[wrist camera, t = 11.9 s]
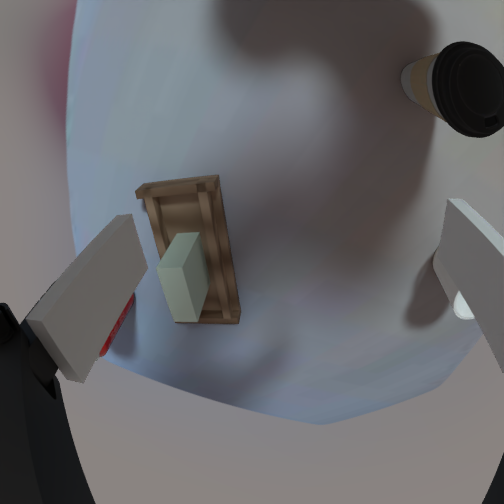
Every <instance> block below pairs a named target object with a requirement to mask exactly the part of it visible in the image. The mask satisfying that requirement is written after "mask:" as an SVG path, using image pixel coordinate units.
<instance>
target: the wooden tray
mask: <svg viewBox="0 0 504 504" xmlns="http://www.w3.org/2000/svg"><path fill="white" fill-rule="evenodd" d="M135 193H136V197H137V199H143V198H144V201H145V205H146V209H147V213H148V217H149V220H150V224H151V228H152V231H153V235H154V239H155V242H156V246H157V249H158V253H159V256H160V259H162V257H163V256H164V254H165V252H166V251H167V249H168V247H169V246H170V244H171V242H172V241H173V239H174V237H175V236H176V234H177V233H192V232H200V237H201V241H202V246H203V251H204V255H205V260H206V265H207V269H208V273H209V278H210V282H211V283H210V286H209V289H208V292H207V295H206V298H205V301H204V304H203V307H202V310H201V314H200V317H199V320H198V322H175V323H202V324H239V320H240V315H241V308H240V303H239V297H238V291H237V285H236V279H235V273H234V268H233V262H232V256H231V250H230V243H229V237H228V231H227V225H226V219H225V212H224V206H223V200H222V193H221V187H220V180H219V175H211V176H201V177H192V178H183V179H175V180H167V181H159V182H152V183H144V184H143V185H141V186H140V187H139V188H138V189H137V190H136V191H135Z"/></svg>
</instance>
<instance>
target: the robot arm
mask: <svg viewBox="0 0 504 504" xmlns="http://www.w3.org/2000/svg"><path fill="white" fill-rule="evenodd" d="M437 257H438V258H439V260H440V261H441V263H442V264H443V266H444V267H445V269H446V270H447V272H448V274H449V275H450V277H451V278H452V280H453V281H454V283H455V285H456V286H457V288H458V290H459V291H460V293H461V295H462V296H463V298H464V300H465V301H466V303H467V305H468V306H469V308H470V310H471V312H472V313H473V315H474V317H475V319H476V321H477V322H478V324H479V326H480V328H481V330H482V332H483V334H484V335H485V337H486V339H487V341H488V343H489V345H490V347H491V349H492V351H493V353H494V355H495V358H496V359H497V362H498V364H499V366H500V368H501V370H502V373H504V238H503V237H502V236H501V235H500V234H499V233H498V232H497V231H496V230H495V229H494V228H493V227H492V226H491V225H490V224H489V223H488V222H487V221H486V220H485V219H484V218H482V217H481V216H480V215H479V214H478V213H477V212H476V211H475V210H474V209H473V208H472V207H471V206H469V205H468V204H467V203H466V202H465V201H464V200H463V199H447V206H446V212H445V218H444V224H443V229H442V235H441V240H440V245H439V249H438V254H437ZM147 269H148V266H147V263H146V260H145V257H144V253H143V250H142V247H141V244H140V241H139V237H138V234H137V231H136V227H135V224H134V220H133V217H132V214H126V215H117V216H116V217H115V218H114V219H113V220H112V221H111V222H110V223H109V224H108V225H107V226H106V227H105V228H104V229H103V230H102V231H101V232H100V233H99V234H98V235H97V236H96V237H95V238H94V239H93V240H92V241H91V243H90V244H89V245H88V246H87V247H86V248H85V249H84V250H83V251H82V252H81V253H80V254H79V255H78V257H77V258H76V259H75V260H74V261H73V262H72V263H71V264H70V266H69V267H68V268H67V269H66V270H65V271H64V272H63V273H62V275H61V276H60V277H59V278H58V279H57V280H56V281H55V282H54V283H53V284H52V285H51V286H50V288H49V289H48V290H47V291H46V293H45V294H44V295H43V296H42V297H41V299H40V301H38V302H37V303H36V305H35V306H34V307H33V308H32V310H31V311H30V312H29V313H28V315H27V316H26V317H25V319H24V320H23V321H22V322H21V324H19V323H18V321H17V320H16V318H15V316H14V315H13V313H12V311H11V310H10V308H9V307H8V305H7V304H6V303H0V504H95V501H94V499H93V496H92V494H91V491H90V489H89V486H88V483H87V481H86V478H85V475H84V473H83V470H82V467H81V464H80V461H79V458H78V455H77V451H76V448H75V445H74V442H73V438H72V435H71V431H70V427H69V423H68V419H67V415H66V411H65V407H64V403H63V398H62V393H61V388H60V383H59V381H58V379H57V377H56V376H55V373H56V372H57V370H58V368H59V370H60V371H61V372H62V373H63V375H64V376H65V377H66V379H67V380H71V381H75V382H80V383H84V382H85V380H86V378H87V376H88V374H89V372H90V370H91V368H92V366H93V364H94V362H95V360H96V358H97V356H98V355H99V353H100V351H101V349H102V347H103V345H104V343H105V342H106V340H107V338H108V336H109V334H110V332H111V331H112V329H113V327H114V325H115V323H116V322H117V320H118V318H119V316H120V315H121V313H122V311H123V309H124V308H125V306H126V304H127V303H128V301H129V299H130V297H131V296H132V294H133V292H134V291H135V289H136V287H137V286H138V284H139V282H140V281H141V279H142V277H143V276H144V274H145V272H146V271H147ZM482 504H504V453H503V456H502V459H501V461H500V464H499V466H498V469H497V471H496V474H495V476H494V478H493V481H492V483H491V485H490V487H489V490H488V492H487V494H486V496H485V498H484V500H483V502H482Z"/></svg>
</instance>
